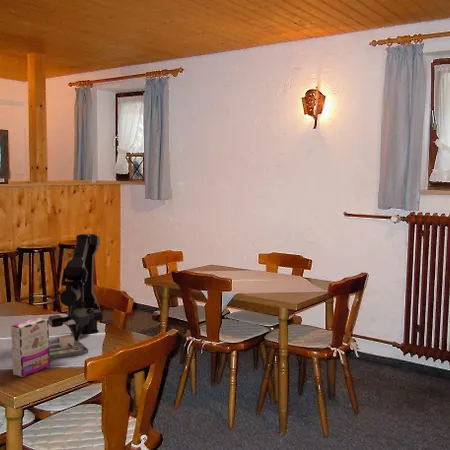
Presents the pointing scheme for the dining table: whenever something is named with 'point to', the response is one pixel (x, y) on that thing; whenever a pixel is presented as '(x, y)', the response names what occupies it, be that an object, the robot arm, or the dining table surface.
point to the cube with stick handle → (66, 340)
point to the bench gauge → (66, 350)
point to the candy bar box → (30, 346)
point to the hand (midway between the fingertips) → (76, 341)
